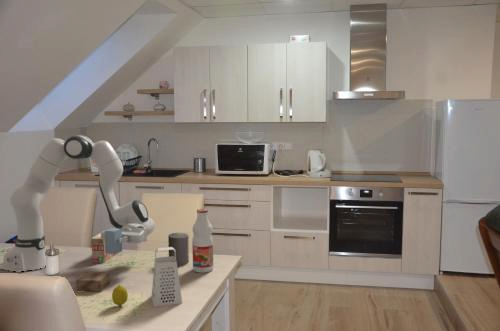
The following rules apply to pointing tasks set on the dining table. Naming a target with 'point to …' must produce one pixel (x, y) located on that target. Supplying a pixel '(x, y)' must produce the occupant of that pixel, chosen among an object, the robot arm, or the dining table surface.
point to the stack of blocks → (99, 250)
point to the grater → (166, 280)
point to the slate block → (113, 241)
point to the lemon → (119, 295)
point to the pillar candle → (179, 247)
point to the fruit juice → (202, 243)
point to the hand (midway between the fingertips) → (112, 240)
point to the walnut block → (93, 281)
